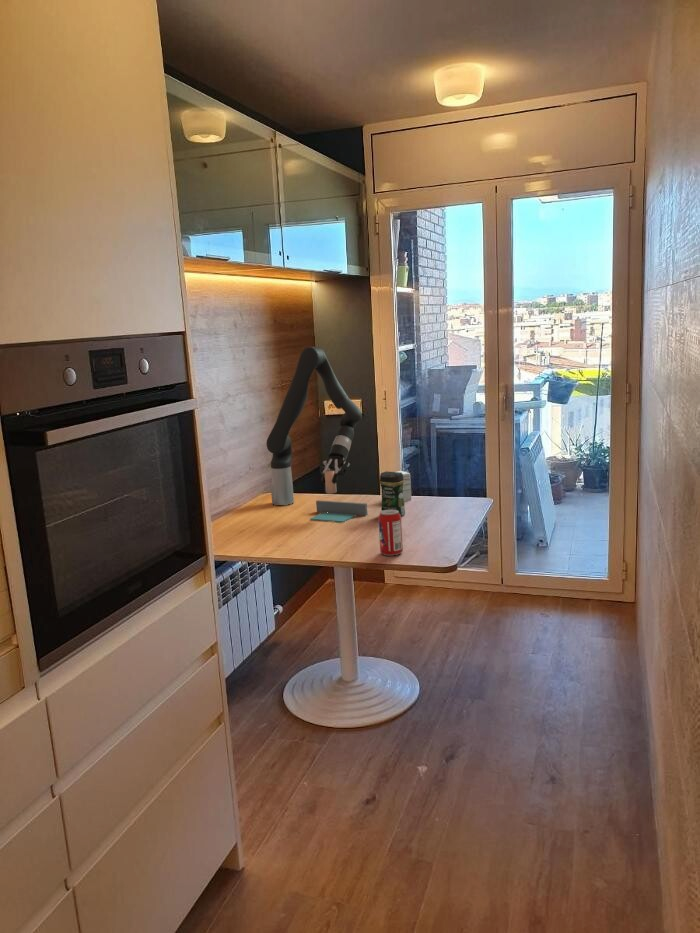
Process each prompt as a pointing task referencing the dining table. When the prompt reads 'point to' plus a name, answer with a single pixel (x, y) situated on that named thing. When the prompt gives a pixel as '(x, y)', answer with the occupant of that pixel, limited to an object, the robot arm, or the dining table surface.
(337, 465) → the robot arm
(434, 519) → the dining table surface
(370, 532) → the dining table surface
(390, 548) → the soda can
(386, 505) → the coffee jar
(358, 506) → the low wall
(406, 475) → the supplement box
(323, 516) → the teal mat
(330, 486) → the tan domed capsule
